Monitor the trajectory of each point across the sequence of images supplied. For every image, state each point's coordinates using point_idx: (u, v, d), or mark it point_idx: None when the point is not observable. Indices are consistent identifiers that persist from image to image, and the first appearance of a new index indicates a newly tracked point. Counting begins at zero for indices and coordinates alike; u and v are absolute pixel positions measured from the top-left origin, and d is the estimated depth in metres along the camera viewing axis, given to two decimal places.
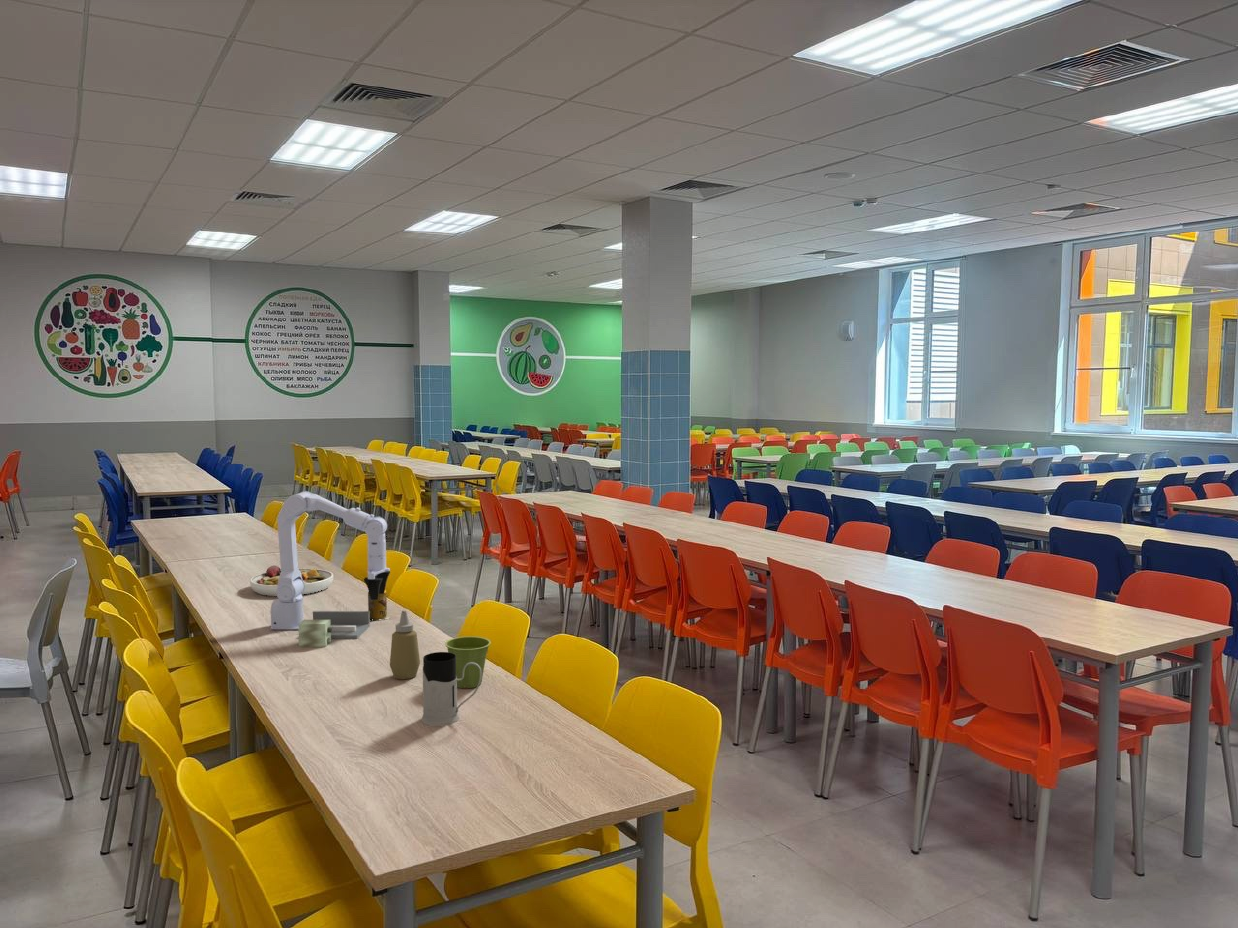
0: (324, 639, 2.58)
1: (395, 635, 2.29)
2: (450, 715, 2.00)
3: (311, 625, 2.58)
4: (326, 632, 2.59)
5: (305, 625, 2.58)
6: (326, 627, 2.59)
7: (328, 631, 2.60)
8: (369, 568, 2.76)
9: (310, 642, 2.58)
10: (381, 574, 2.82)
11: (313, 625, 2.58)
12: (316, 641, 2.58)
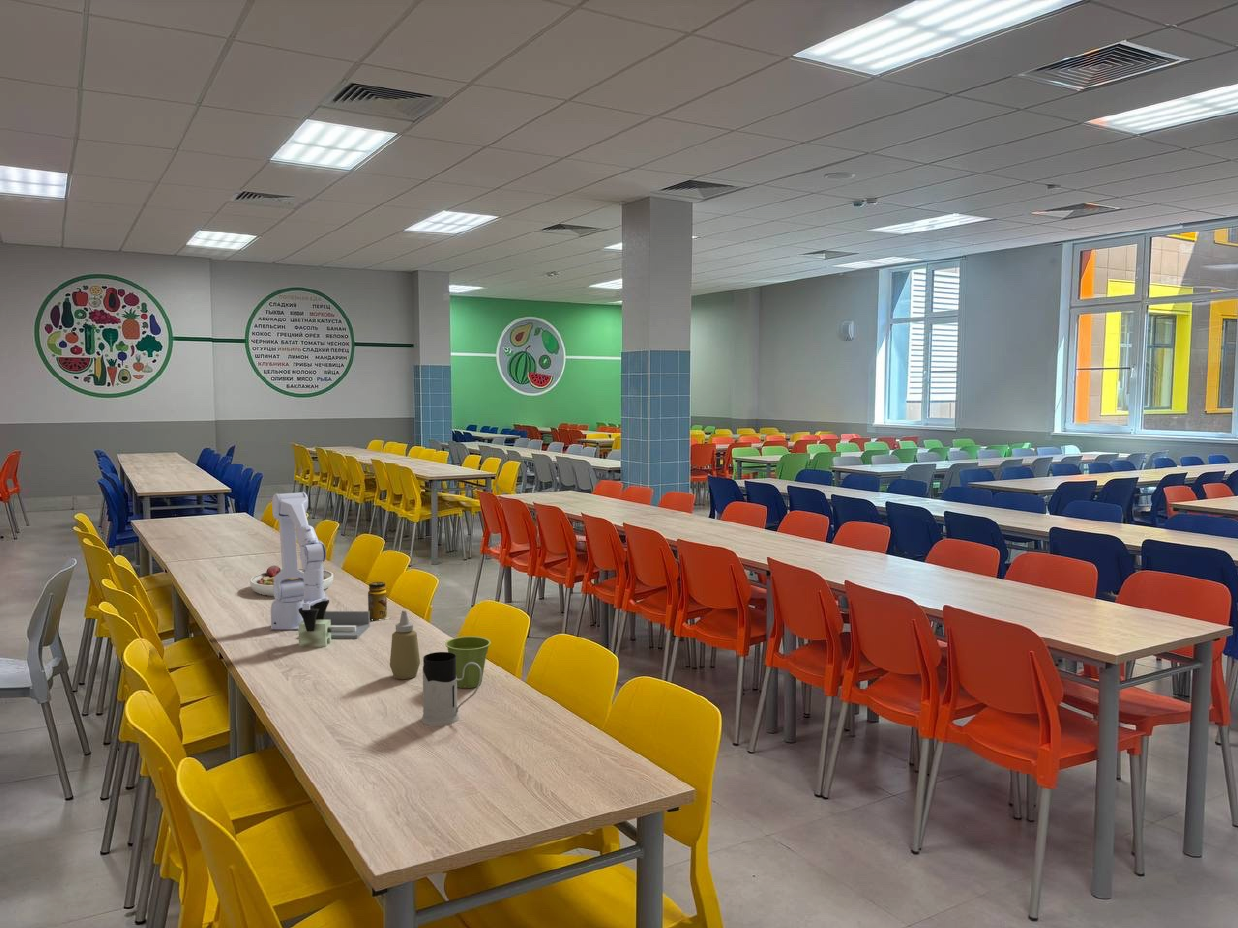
0: (324, 639, 2.58)
1: (395, 635, 2.29)
2: (450, 715, 2.00)
3: None
4: (326, 632, 2.59)
5: None
6: (326, 627, 2.59)
7: (328, 631, 2.60)
8: (305, 597, 2.57)
9: (310, 642, 2.58)
10: (319, 603, 2.63)
11: None
12: (316, 641, 2.58)
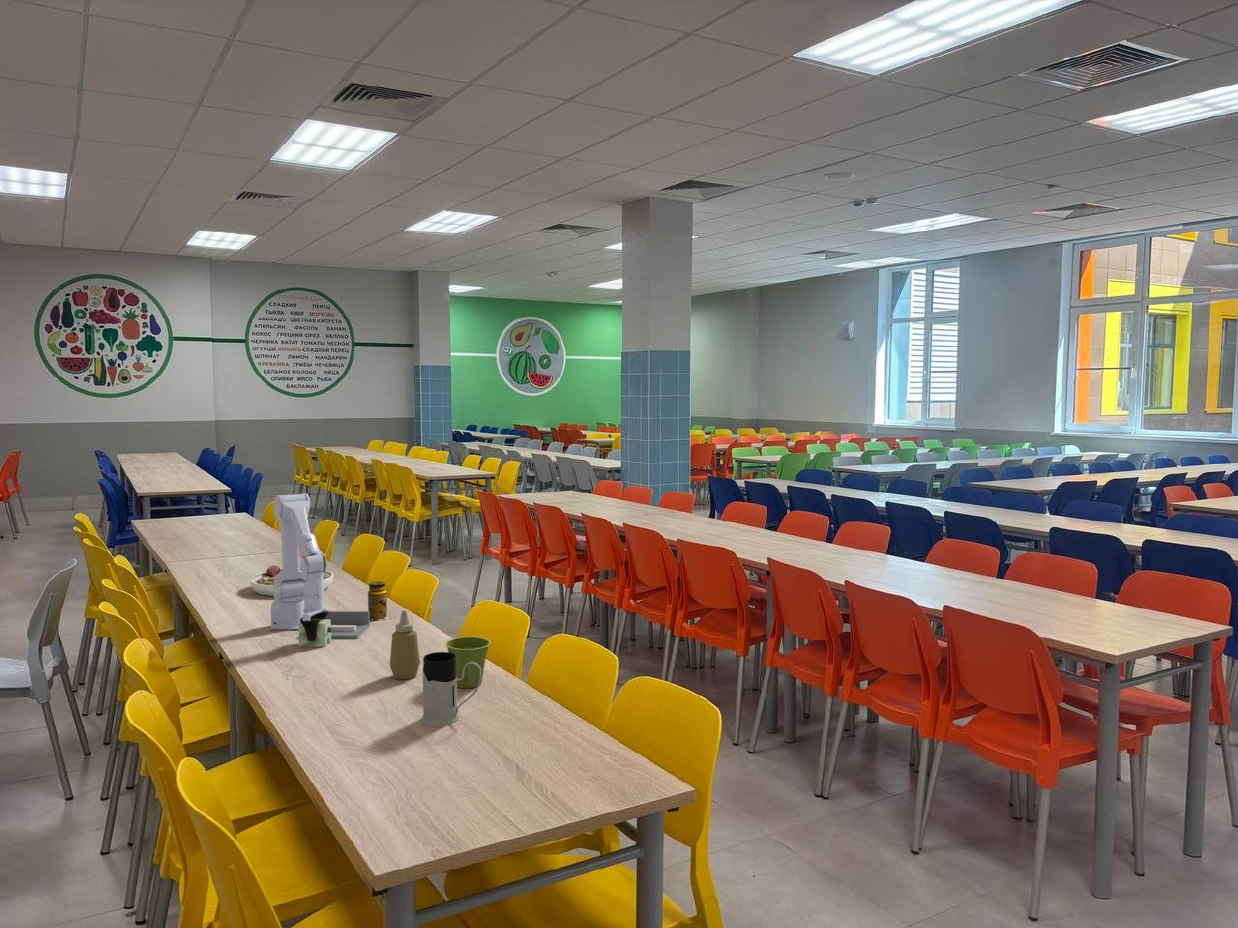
0: (324, 639, 2.58)
1: (395, 635, 2.29)
2: (450, 715, 2.00)
3: None
4: (326, 631, 2.59)
5: None
6: (326, 627, 2.59)
7: (328, 631, 2.60)
8: (305, 608, 2.58)
9: (310, 642, 2.58)
10: (318, 614, 2.63)
11: None
12: (316, 641, 2.58)
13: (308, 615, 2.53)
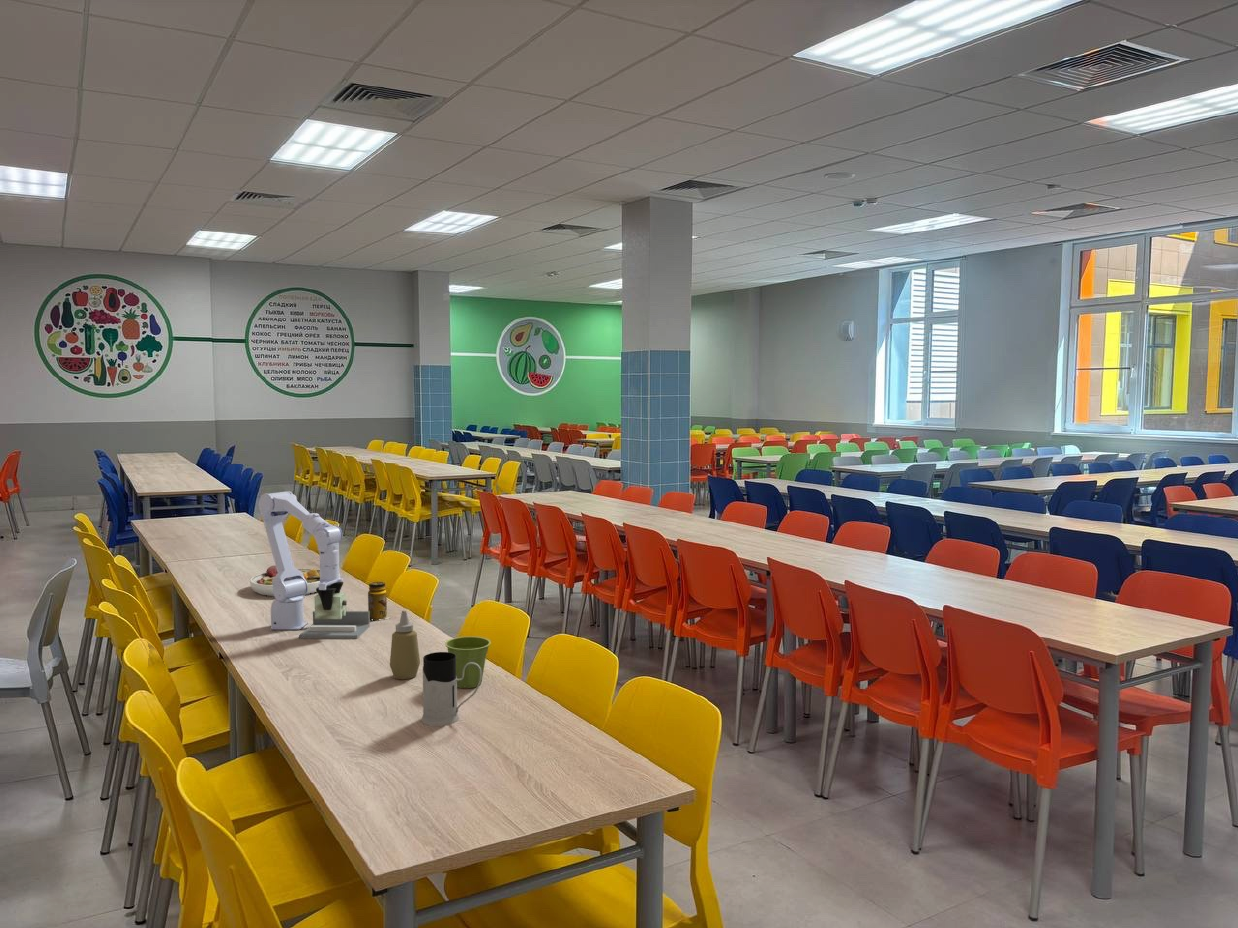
0: (339, 611, 2.67)
1: (395, 635, 2.29)
2: (450, 715, 2.00)
3: None
4: (341, 605, 2.68)
5: None
6: (341, 600, 2.68)
7: (343, 604, 2.69)
8: (321, 578, 2.67)
9: (326, 614, 2.67)
10: (334, 585, 2.72)
11: None
12: (331, 613, 2.67)
13: (324, 584, 2.62)
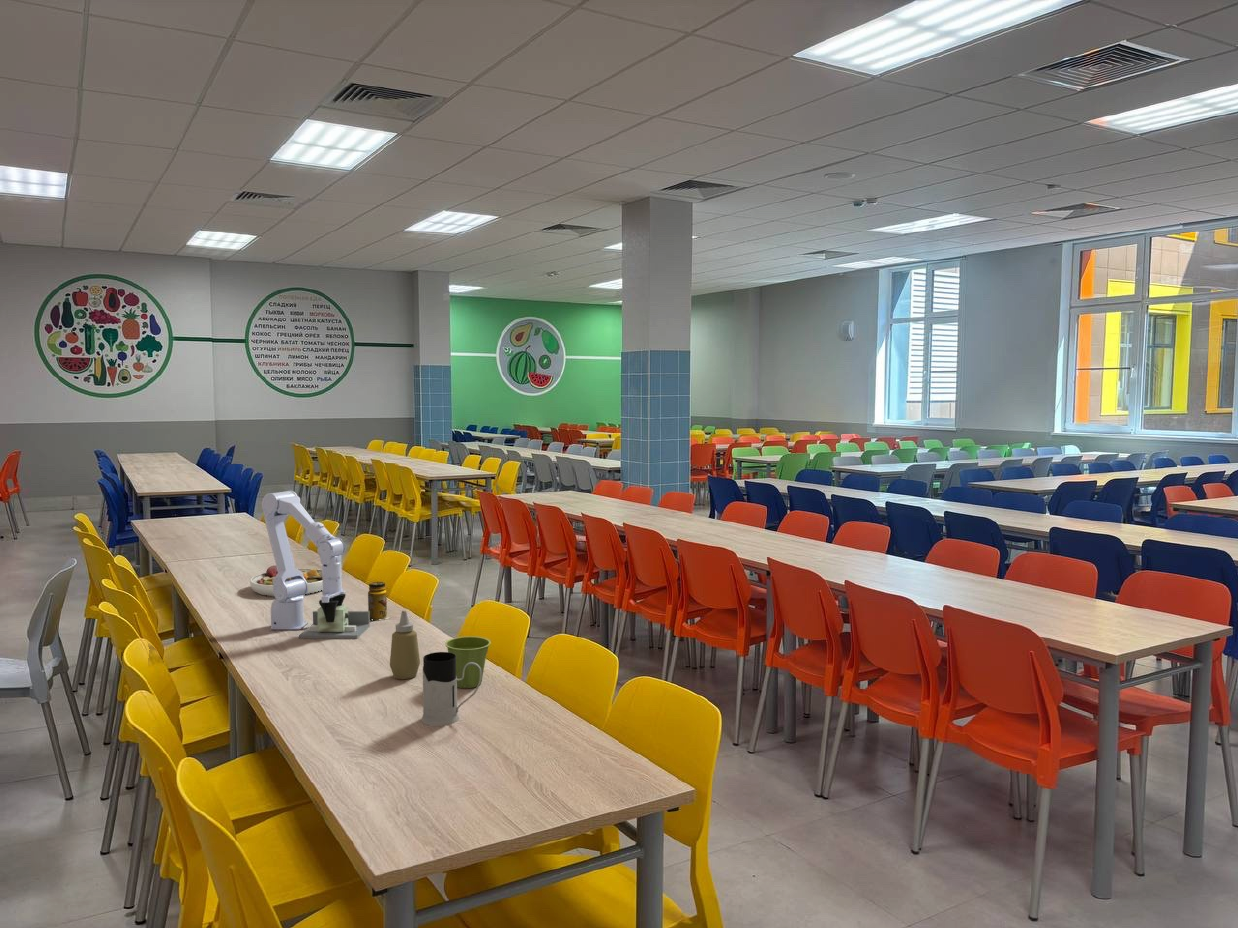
0: (342, 624, 2.69)
1: (395, 635, 2.29)
2: (450, 715, 2.00)
3: None
4: (344, 617, 2.70)
5: None
6: (344, 613, 2.70)
7: (346, 617, 2.71)
8: (324, 591, 2.68)
9: (328, 627, 2.69)
10: (336, 597, 2.74)
11: None
12: (334, 626, 2.69)
13: (327, 597, 2.63)
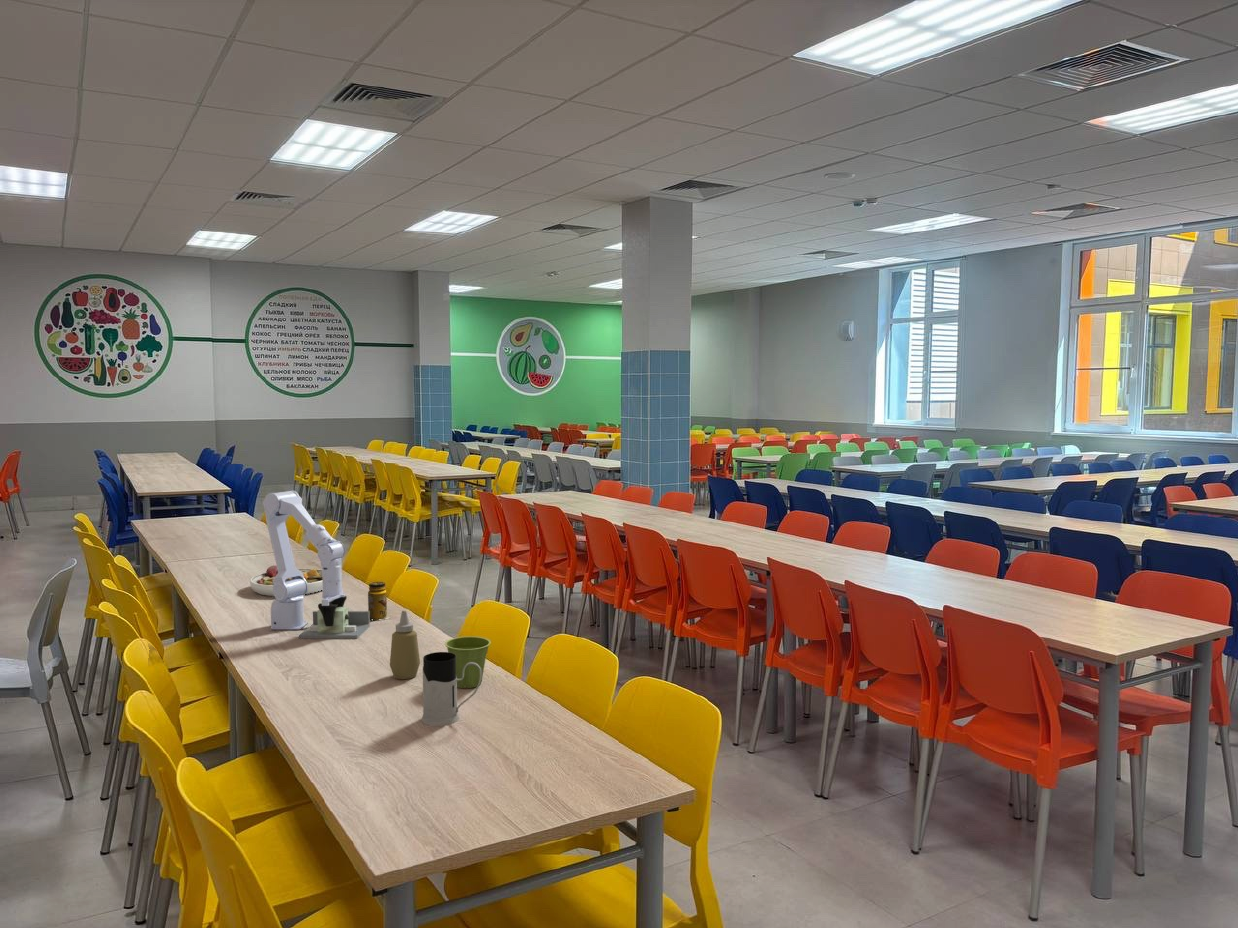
0: (342, 625, 2.69)
1: (395, 635, 2.29)
2: (450, 715, 2.00)
3: None
4: (344, 618, 2.70)
5: None
6: (344, 614, 2.70)
7: (346, 618, 2.71)
8: (324, 594, 2.69)
9: (328, 628, 2.69)
10: (337, 599, 2.75)
11: None
12: (334, 627, 2.69)
13: (327, 600, 2.64)
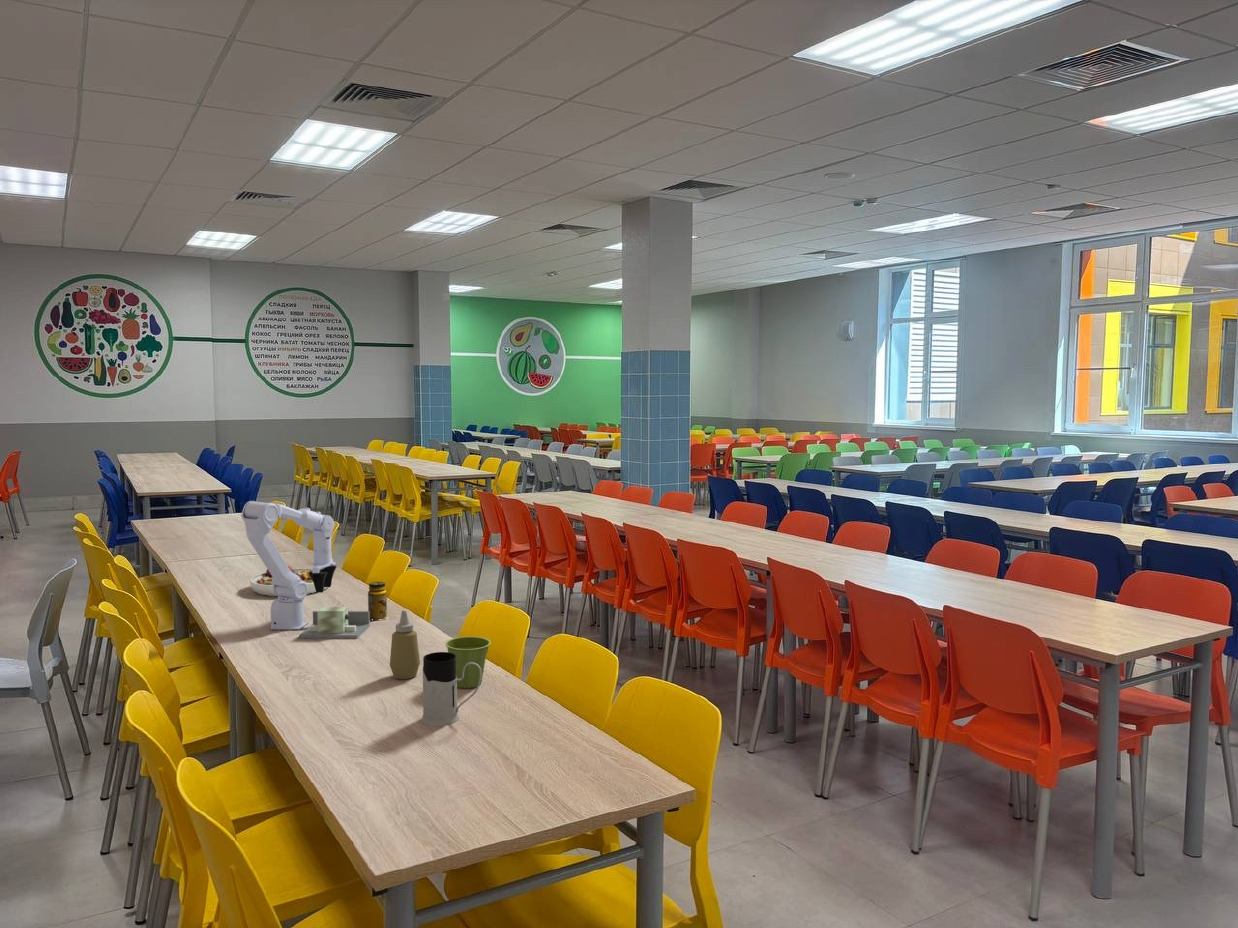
0: (342, 625, 2.69)
1: (395, 635, 2.29)
2: (450, 715, 2.00)
3: (329, 612, 2.69)
4: (344, 618, 2.70)
5: (324, 612, 2.69)
6: (344, 614, 2.70)
7: (346, 618, 2.71)
8: (315, 562, 2.88)
9: (328, 628, 2.69)
10: (327, 568, 2.94)
11: (331, 612, 2.69)
12: (334, 627, 2.69)
13: (317, 568, 2.83)
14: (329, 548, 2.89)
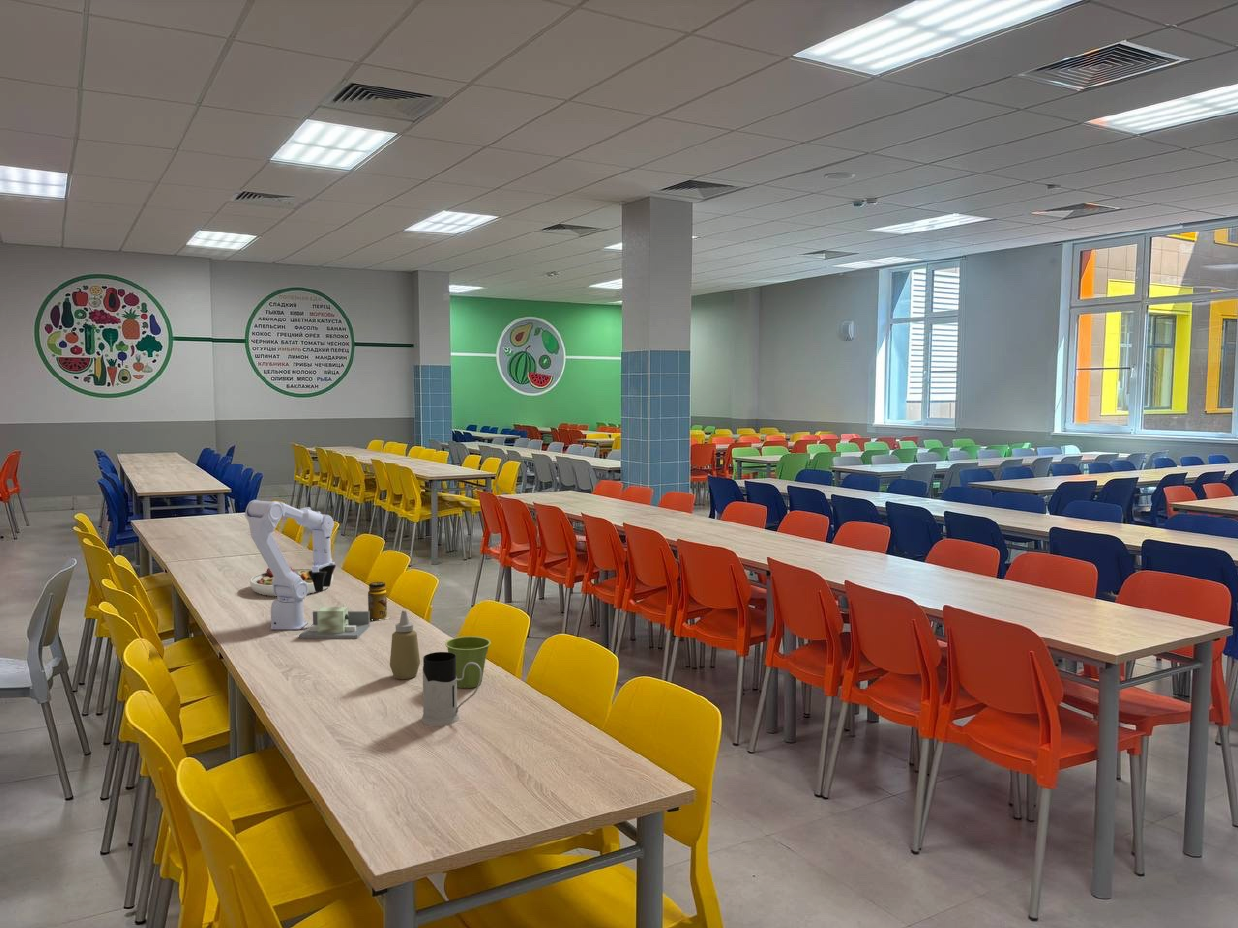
0: (342, 625, 2.69)
1: (395, 635, 2.29)
2: (450, 715, 2.00)
3: (329, 612, 2.69)
4: (344, 618, 2.70)
5: (324, 612, 2.69)
6: (344, 614, 2.70)
7: (346, 618, 2.71)
8: (314, 562, 2.89)
9: (328, 628, 2.69)
10: (327, 568, 2.95)
11: (331, 612, 2.69)
12: (334, 627, 2.69)
13: (317, 567, 2.84)
14: (329, 547, 2.90)
